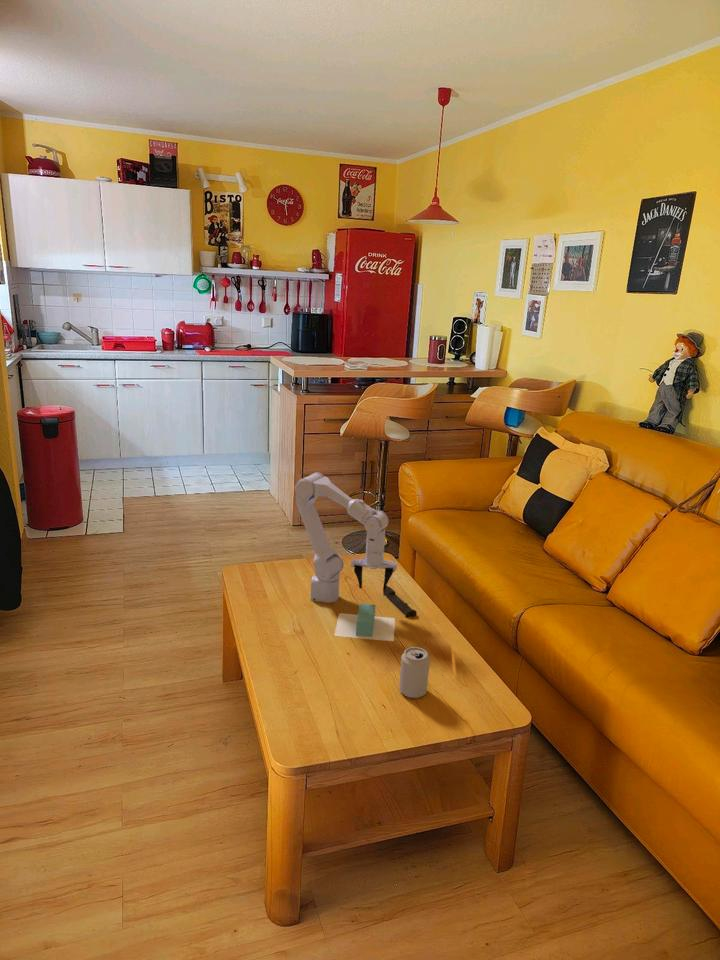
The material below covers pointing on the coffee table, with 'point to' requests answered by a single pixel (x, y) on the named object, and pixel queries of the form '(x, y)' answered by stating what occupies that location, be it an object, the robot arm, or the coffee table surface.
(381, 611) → the coffee table surface
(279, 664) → the coffee table surface
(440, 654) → the coffee table surface
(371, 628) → the block
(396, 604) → the hand tool
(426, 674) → the can
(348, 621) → the board
